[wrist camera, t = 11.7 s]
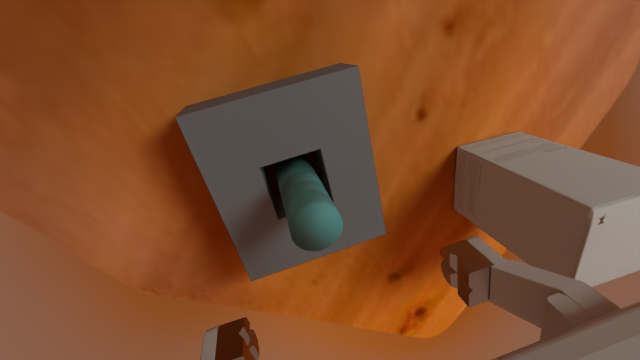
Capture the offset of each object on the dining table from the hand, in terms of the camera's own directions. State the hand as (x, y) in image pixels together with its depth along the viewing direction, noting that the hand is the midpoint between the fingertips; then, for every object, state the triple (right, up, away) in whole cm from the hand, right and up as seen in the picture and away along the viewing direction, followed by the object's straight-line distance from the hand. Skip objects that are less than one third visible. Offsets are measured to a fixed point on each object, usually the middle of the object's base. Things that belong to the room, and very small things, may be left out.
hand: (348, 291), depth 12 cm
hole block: (-4, +6, +14) cm, 15 cm away
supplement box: (+16, +5, +19) cm, 25 cm away
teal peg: (-4, +6, +14) cm, 15 cm away
